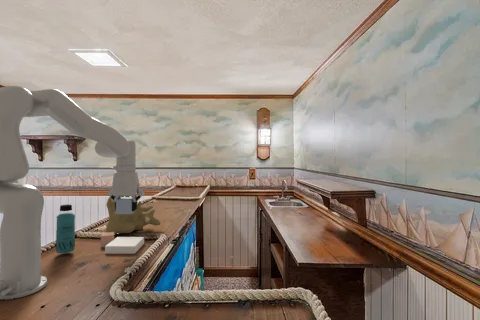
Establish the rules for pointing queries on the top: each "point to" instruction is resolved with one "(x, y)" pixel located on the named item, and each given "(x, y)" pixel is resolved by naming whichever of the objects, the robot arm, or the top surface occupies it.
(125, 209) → the grey-blue cube
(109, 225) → the decorative coral
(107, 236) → the terracotta block
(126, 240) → the pedestal
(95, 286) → the top surface
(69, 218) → the beverage bottle
